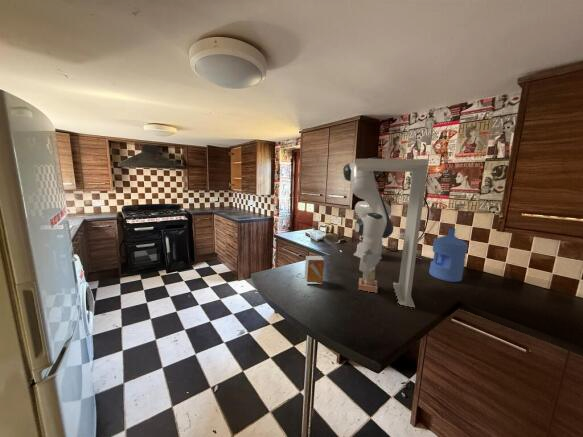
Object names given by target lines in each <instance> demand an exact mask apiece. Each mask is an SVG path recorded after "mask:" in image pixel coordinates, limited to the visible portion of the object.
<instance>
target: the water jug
mask: <svg viewBox="0 0 583 437" xmlns="http://www.w3.org/2000/svg"><path fill="white" fill-rule="evenodd" d="M467 250H468V243H467V242H466V241H464V240H462V239H460V238H458V237H457V236H456V228H453V227H449V228H448V231H447V235H443V236H439V237H436V238H434V239H433V242H432V252H433V260H431V261H430V267H429V270H428V271H429V272H428V273H429V274H430V275H431V276H432V277H433V278H434V279H435V278H436V279H438V280H441V281H444V282H448V283H449V282H450V283H457V282H458V283H459V282H461V281H462V280H463V273H464V267H465V265H466V264H465V263H466V262H465V261H466V257H467V256H466V255H467Z"/></svg>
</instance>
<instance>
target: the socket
mask: <svg viewBox="0 0 583 437" xmlns="http://www.w3.org/2000/svg"><path fill="white" fill-rule="evenodd" d="M362 281H363V277H359V279H358V288H357V291H358V290H363V291H368V292H367V293H369V292H375V293H377V294H378V281H377V280H374V286H370V285H364V284H362ZM363 291H362V292H363ZM375 293H374V294H375Z"/></svg>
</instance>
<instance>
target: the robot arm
mask: <svg viewBox="0 0 583 437" xmlns="http://www.w3.org/2000/svg"><path fill="white" fill-rule="evenodd" d="M368 159H379V158H378V157H371V158H370V157H369V158H368ZM381 172H382V171H357V166H356V165H355V161H354V162H352V163H347V164H345V165H344V166H343V170H342V175H343V177H344V179H345V180H346V181H348V182H350V188H351V191H352V194H353V195H355V196H356V197H357V198H359V199H361V201H360V200H359V201H358V202H357V203H356V204H355V206H354V211H355V214H356V215H357V216H358V218H357V219H356V220H355V223H354V233H356V235H357V236H358V237H359V236H360V238H359V243H358V244H357V246H356V251H355V252H354V253H353V256H354V257H357V258H360V260H359V268H358V270H359V271H360V272H362V275H363V274H364V277H363V276H362V278H364V279H368V271H369V270H370V269H372V270H373V271H374V272H375V273H376V266H377V265H378V263H380V261H381V260H382V259H383V257H382V252H383V250H384V244H383V239H387V238H389V237H390V236H391V235H392V233H393V232H394V224H393V222H392V220H391V218H390V216H391V214H392V208H391V206H390V205H389V204H388V203H387V202H385V201H384V198H383V195H382V193H381V191H380V190H378V187H377V182H376V179H375V177H376V176H378V175H379V174H380V173H381Z"/></svg>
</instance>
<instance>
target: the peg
mask: <svg viewBox="0 0 583 437" xmlns="http://www.w3.org/2000/svg"><path fill="white" fill-rule="evenodd" d="M363 277H364V274H363V273H362V278H363ZM375 278H376V271H375V272H374V271H373V270H372V269H370V270H369V271H368V279H364V278H363V281H362V284H364V285H370V286H374V280H375Z"/></svg>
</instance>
